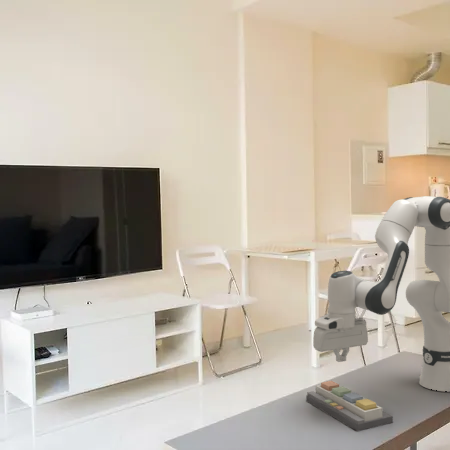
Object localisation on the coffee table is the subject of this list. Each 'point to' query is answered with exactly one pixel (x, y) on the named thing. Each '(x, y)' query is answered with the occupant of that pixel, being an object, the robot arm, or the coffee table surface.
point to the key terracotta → (329, 385)
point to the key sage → (340, 391)
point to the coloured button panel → (347, 410)
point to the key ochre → (366, 404)
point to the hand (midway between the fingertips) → (341, 361)
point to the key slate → (352, 397)
